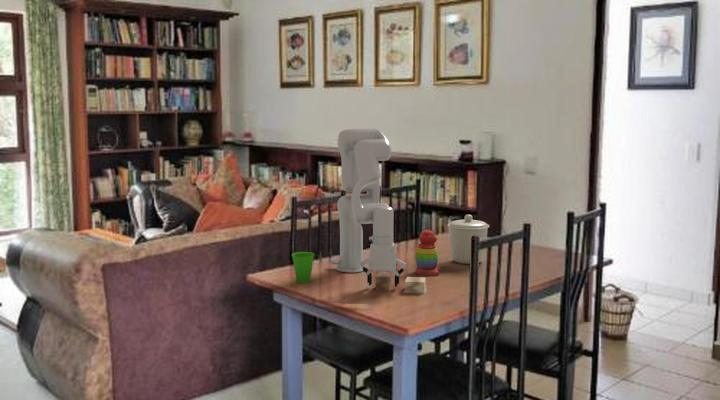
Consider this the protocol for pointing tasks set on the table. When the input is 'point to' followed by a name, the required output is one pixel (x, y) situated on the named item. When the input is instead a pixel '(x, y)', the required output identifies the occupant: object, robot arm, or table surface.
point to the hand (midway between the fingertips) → (383, 285)
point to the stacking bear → (427, 254)
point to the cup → (303, 266)
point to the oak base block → (415, 284)
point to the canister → (465, 238)
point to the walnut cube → (383, 282)
